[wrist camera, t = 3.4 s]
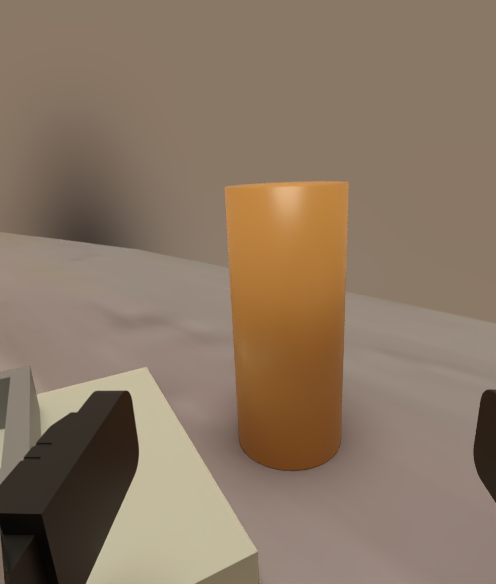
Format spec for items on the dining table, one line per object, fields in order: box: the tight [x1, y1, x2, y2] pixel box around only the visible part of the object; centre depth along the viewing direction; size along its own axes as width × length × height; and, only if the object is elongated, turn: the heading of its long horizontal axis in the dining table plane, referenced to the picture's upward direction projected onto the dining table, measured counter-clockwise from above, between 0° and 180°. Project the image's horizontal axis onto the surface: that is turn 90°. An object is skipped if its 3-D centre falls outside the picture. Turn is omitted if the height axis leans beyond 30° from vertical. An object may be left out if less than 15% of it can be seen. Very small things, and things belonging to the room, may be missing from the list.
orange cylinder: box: [225, 181, 349, 470], centre depth 18 cm, size 5×5×12 cm
